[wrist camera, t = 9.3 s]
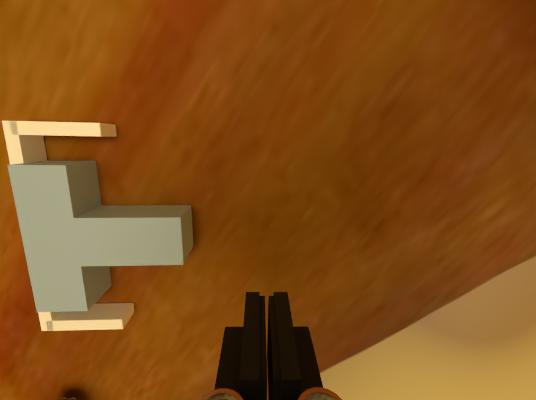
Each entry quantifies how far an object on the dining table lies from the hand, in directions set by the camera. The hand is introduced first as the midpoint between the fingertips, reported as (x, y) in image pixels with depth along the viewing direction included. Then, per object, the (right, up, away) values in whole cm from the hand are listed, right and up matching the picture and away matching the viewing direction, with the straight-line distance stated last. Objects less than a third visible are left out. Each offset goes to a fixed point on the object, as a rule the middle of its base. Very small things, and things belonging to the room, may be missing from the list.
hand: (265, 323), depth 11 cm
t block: (-13, +3, +14) cm, 19 cm away
